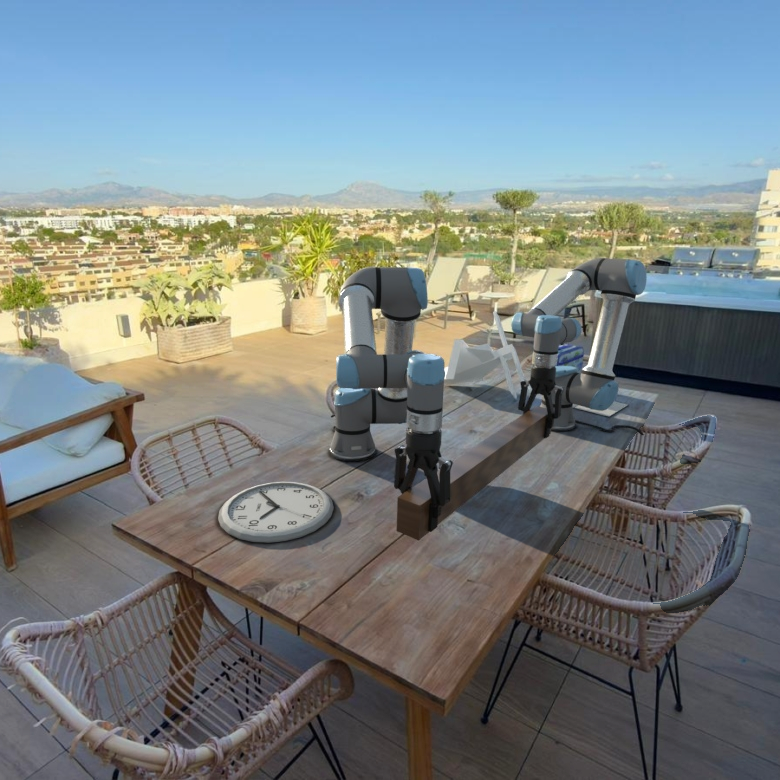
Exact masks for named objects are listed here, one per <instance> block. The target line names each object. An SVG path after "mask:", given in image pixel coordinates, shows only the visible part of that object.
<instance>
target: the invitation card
mask: <svg viewBox="0 0 780 780" xmlns="http://www.w3.org/2000/svg"><path fill="white" fill-rule="evenodd" d="M628 406H629V404H627V403H623V402H618V401H614V402H613V404H612V405H611V406H610V407H609V408H608V409H606V410H604V411H599V410H595V409H590V408H587V407H583V406H580V405H575V406H574V407H573V409H575V410H581V411H584V412H587V413H593V414H596V415H600V416H604V417H608V418H609V417H611V416H613V415H614V414H616V413H617V412H619V411H621V410H623V409H624V408H626V407H628Z"/></svg>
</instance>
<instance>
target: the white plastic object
mask: <svg viewBox="0 0 780 780" xmlns="http://www.w3.org/2000/svg"><path fill="white" fill-rule="evenodd" d="M492 315H493V319H494V321H495V324H496V325H495V326H496V328H497V332H498V335H499V338H500V342H501V345H502V347H500V348H498V349H496V350H495V349H493V348H492V347H491V346H490V344H489V343H488V342H487V343H483V344H479V345H473V346H469V345H468V343H466V342H465V340H464V339H463V338H460V339H458V338H454V340H453V344H452V349H451V353H450V357H449V362H448V366H446V367H445V378H444V386H449V385H458V384H467V383H468V384H469V383H473V384H477V383H480V382H482V381H484V378H485V377H486V376H487V375H489V374H490V373H492V372H494V371H495V370H496V369H497V368H499V367H500V366H502V370H503V373H504V376H505V380H506V383H507V386H508V390H509V393H510V394H511V395H512V397H513V398H514V399H515V400H517V392H516V391H517V390H516V388H515V385H514V381H513V378H512V375H511V371H510V369H509V365H508V361H510V360H513V363H514V366H515V369H516V372H517V376H518V380H519V382H521V381H523V380H526V378H525V375H524V371H523V369H522V368H523V367H522V366H521V362H520V359H519V355H518V352H517V349H516V347H515V346H514V345H513V343H511V344H508V341H507V337H506V334H505V331H504V328H503V325H502V321H501V318H500V315H499V314H498V312H497V311H496V310H495V311H492ZM526 397H530V390H529V389H528V390H527V396H526Z"/></svg>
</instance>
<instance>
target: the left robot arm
mask: <svg viewBox="0 0 780 780" xmlns="http://www.w3.org/2000/svg"><path fill="white" fill-rule="evenodd" d="M428 302H429V299H428V288H427V280H426V275H425V272H424V270H423V269H422V268H420V267H410V266H367V267H363V268H361V269H357V270H356V271H355V272H353V273H351V275H350V276H348V278H346V279H345V281H344V282H343V284H342V285H341V287H340V289H339V293H338V305H339V308H340V310H341V311H342V324H343V325H342V326H343V328H342V329H343V354H339V355H337V356H336V358H335V372H336V373H335V374H336V375H335V378H336V379H335V380H336V386H337V388H338V389H336V390H335V393H334V402H333V405H334V413H333V414H331V415H330V418H334V426H332V428H331V431H332V432H333V437H332V440H331V443H330V446H329V454H330V456H331V457H332V458H334V459H336V460H338V461H342V462H352V463H353V462H361V461H366V460H369V459H371V458H372V457H374V456H375V455H376V444H375V440H374V438H373V434H372V431H371V425H388V424H389V425H390V424H391V425H393V424H394V425H395V424H396V425H397V424H398V425H402V424H406V430H405V444H406V446H405V445H404V444H402V445H400V446H398V447H396V448H394V456H395V469H394V481H393V482H394V483H393V487H394V488H395V490H399V491H400V493H401V495H402V494H403V493H405V492H406V491H408V490H409V489H411V488H412V487H413V484H414V481H415V479H416V476H417V472H418V470H419V469H420V470H421V471H423V474H424V476H425V477H426V478H427V481H428V486H429V490H430V495H431V499H432V503H431V504H430V505H429V521H428V531H429V533H432V532H434V531H435V529H437V528H438V526H439V524H438V518H439V517H440V516H441V510H442V506H444V505H446V504H447V503H448V502H450V470H451V467H452V464H453V462H452V461H453V460H452V459H449V460H447V459H445V458H444V457H442V453H441V447H442V434H443V432H442V427H443V414H444V413H443V410H444V408H443V406H444V393H445V392H444V391H445V384H444V378H445V368H446V367H445V365H446V364H445V359H444V358H443V357H442V356H440V355H437V354H434V353H424V352H423V351H421V350H417V349H416V350H415V349H414V350H413V346H414V335H415V334H414V333H415V323H416V320H418V319H419V318H420V317H421V313H422V311H424V310H427V308H428V305H429V303H428ZM373 310H380V315H381V316H382V317H383V318H384V319H385V323H384V324H385V326H384V347H383V350H384V351H383V354H378V353H377V344H376V335H375V326H374V325H375V324H374V316H373ZM407 458H408V460H409V461H408V464H407ZM438 465H439V466H438ZM438 470H440V474H439V479H438V475H437V471H438ZM439 480H440V484H439Z"/></svg>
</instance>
